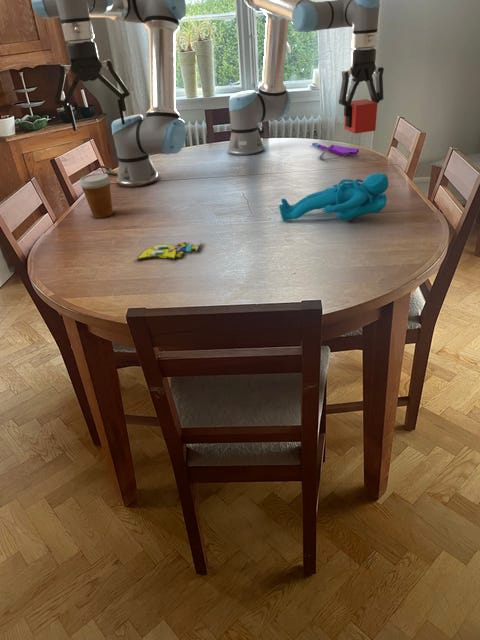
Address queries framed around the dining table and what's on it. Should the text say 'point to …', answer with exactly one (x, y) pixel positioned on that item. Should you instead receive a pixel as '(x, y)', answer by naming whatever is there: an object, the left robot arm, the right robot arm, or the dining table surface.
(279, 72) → the right robot arm
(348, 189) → the toy
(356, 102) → the brick
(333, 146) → the musical instrument
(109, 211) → the disposable coffee cup
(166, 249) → the toy
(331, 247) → the dining table surface
